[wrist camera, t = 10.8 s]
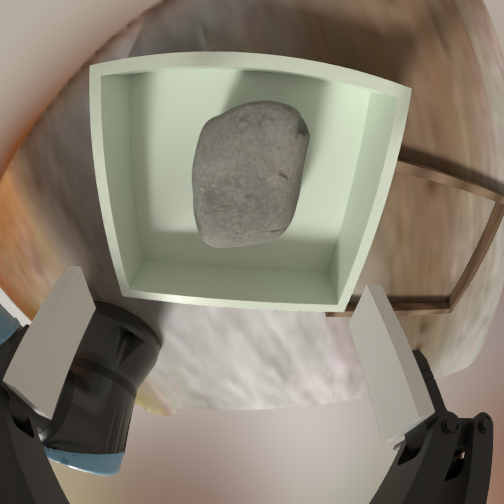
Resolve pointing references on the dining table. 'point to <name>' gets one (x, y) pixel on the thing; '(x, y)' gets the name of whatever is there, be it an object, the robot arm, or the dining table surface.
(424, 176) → the frame
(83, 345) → the robot arm
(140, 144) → the bin
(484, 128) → the dining table surface
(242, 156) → the stone
